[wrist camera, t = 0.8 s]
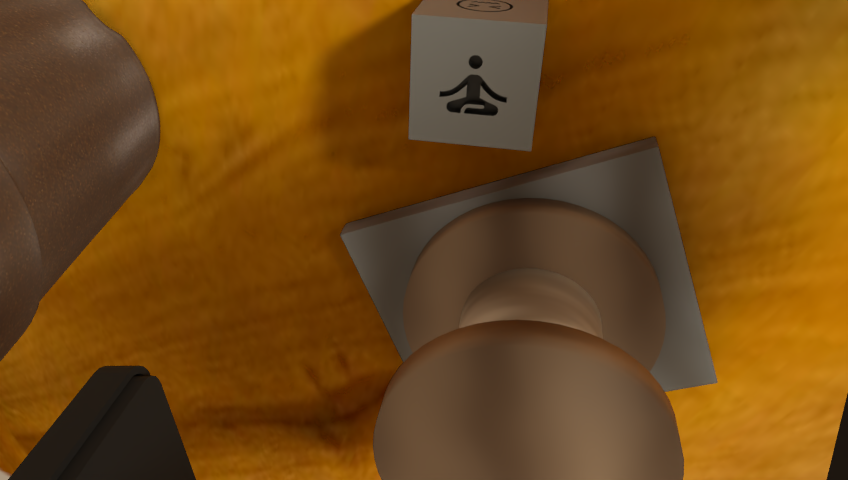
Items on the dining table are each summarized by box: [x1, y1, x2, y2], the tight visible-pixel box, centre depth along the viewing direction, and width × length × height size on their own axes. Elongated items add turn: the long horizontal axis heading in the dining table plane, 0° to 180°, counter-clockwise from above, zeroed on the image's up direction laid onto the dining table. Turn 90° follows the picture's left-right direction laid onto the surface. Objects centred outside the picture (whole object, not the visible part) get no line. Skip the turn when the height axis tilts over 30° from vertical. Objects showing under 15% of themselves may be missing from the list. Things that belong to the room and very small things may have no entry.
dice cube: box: [409, 0, 548, 151], centre depth 29 cm, size 5×5×5 cm
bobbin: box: [340, 137, 718, 480], centre depth 32 cm, size 16×14×12 cm
